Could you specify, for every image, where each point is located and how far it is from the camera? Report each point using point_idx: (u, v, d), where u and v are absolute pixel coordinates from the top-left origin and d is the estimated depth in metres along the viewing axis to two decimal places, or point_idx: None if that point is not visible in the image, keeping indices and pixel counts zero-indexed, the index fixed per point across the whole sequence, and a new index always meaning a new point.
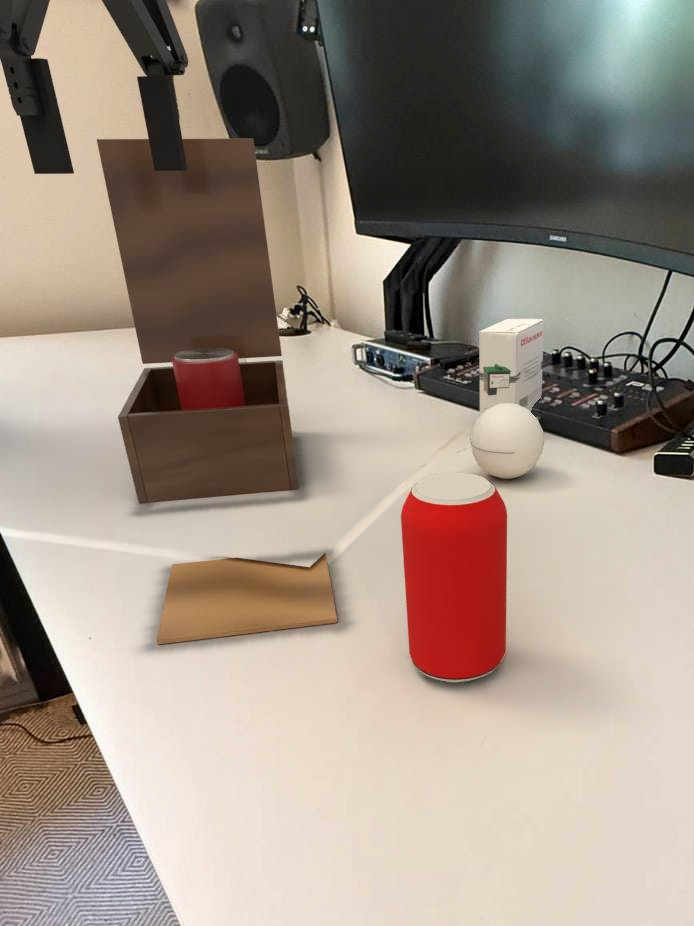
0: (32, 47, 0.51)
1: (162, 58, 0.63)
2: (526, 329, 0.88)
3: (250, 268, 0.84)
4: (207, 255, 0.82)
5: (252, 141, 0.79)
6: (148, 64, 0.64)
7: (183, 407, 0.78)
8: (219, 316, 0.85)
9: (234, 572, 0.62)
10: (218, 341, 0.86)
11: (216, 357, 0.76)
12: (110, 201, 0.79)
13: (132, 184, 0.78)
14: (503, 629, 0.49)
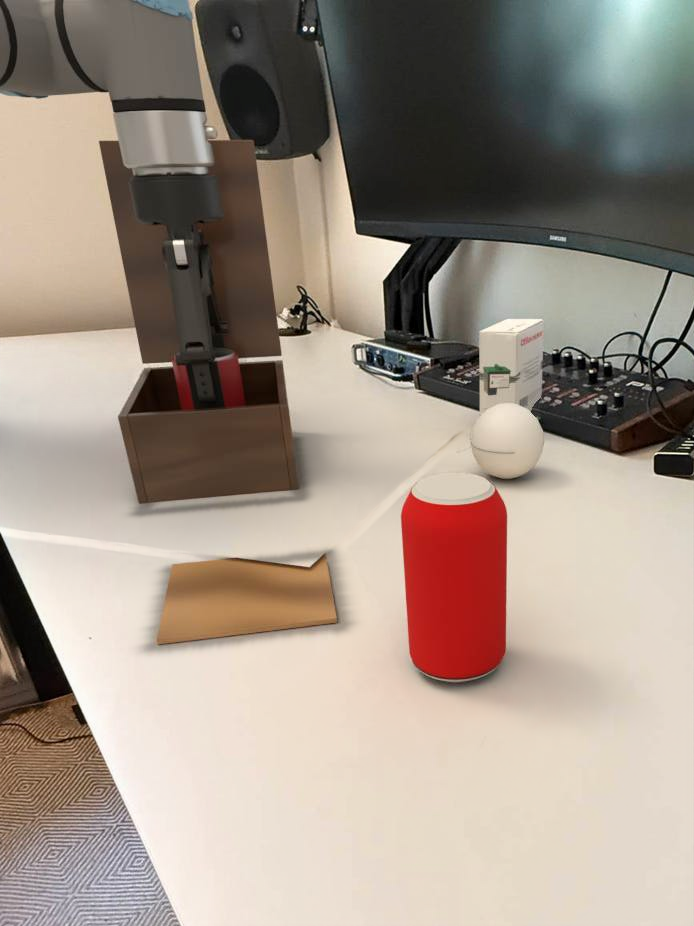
0: None
1: (218, 324, 0.83)
2: (526, 329, 0.88)
3: (250, 268, 0.84)
4: None
5: (252, 142, 0.80)
6: None
7: (183, 407, 0.78)
8: None
9: (234, 572, 0.62)
10: None
11: (216, 357, 0.76)
12: (111, 201, 0.79)
13: None
14: (503, 629, 0.49)
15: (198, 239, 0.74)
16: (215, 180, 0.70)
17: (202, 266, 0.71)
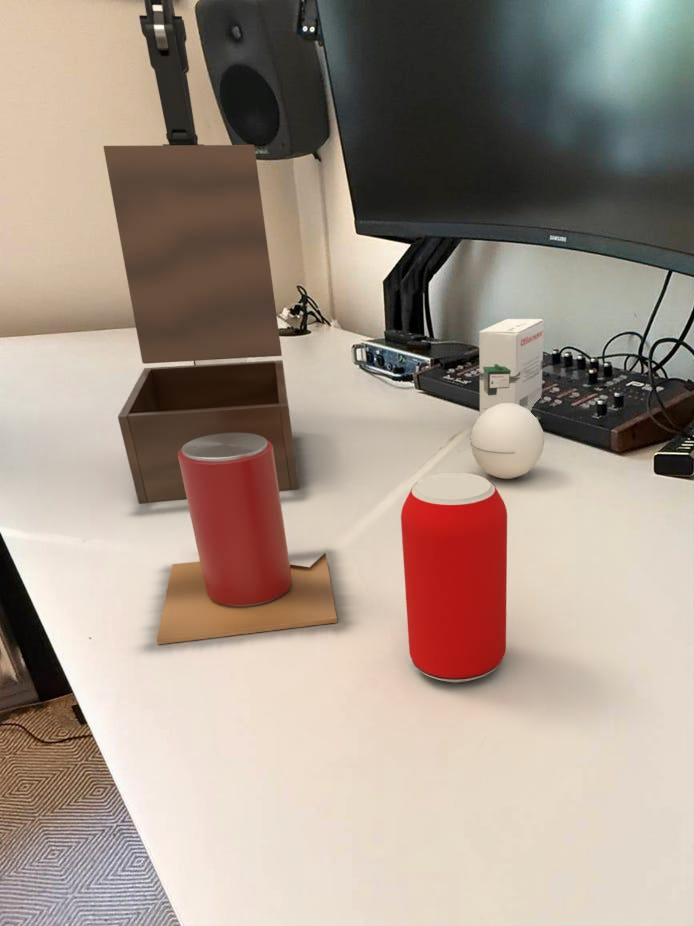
0: (196, 143, 0.83)
1: (193, 133, 0.84)
2: (526, 329, 0.88)
3: (251, 269, 0.85)
4: (208, 256, 0.84)
5: (253, 147, 0.82)
6: None
7: (194, 521, 0.55)
8: (219, 315, 0.86)
9: None
10: (218, 340, 0.86)
11: (243, 453, 0.52)
12: (115, 204, 0.81)
13: (137, 188, 0.81)
14: (503, 629, 0.49)
15: (173, 14, 0.80)
16: None
17: (179, 44, 0.78)
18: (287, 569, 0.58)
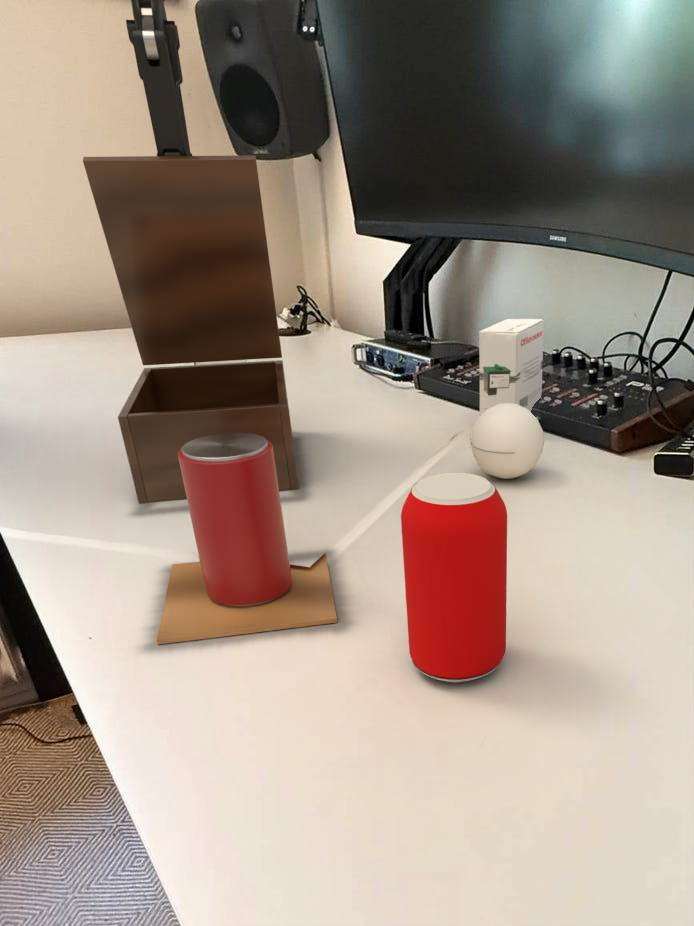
0: None
1: (188, 151, 0.75)
2: (526, 329, 0.88)
3: (251, 283, 0.81)
4: (206, 271, 0.79)
5: (255, 162, 0.72)
6: None
7: (194, 521, 0.55)
8: (219, 325, 0.84)
9: None
10: (218, 346, 0.86)
11: (243, 453, 0.52)
12: (101, 221, 0.73)
13: (125, 205, 0.73)
14: (503, 629, 0.49)
15: (165, 18, 0.70)
16: None
17: (171, 52, 0.69)
18: (287, 569, 0.58)
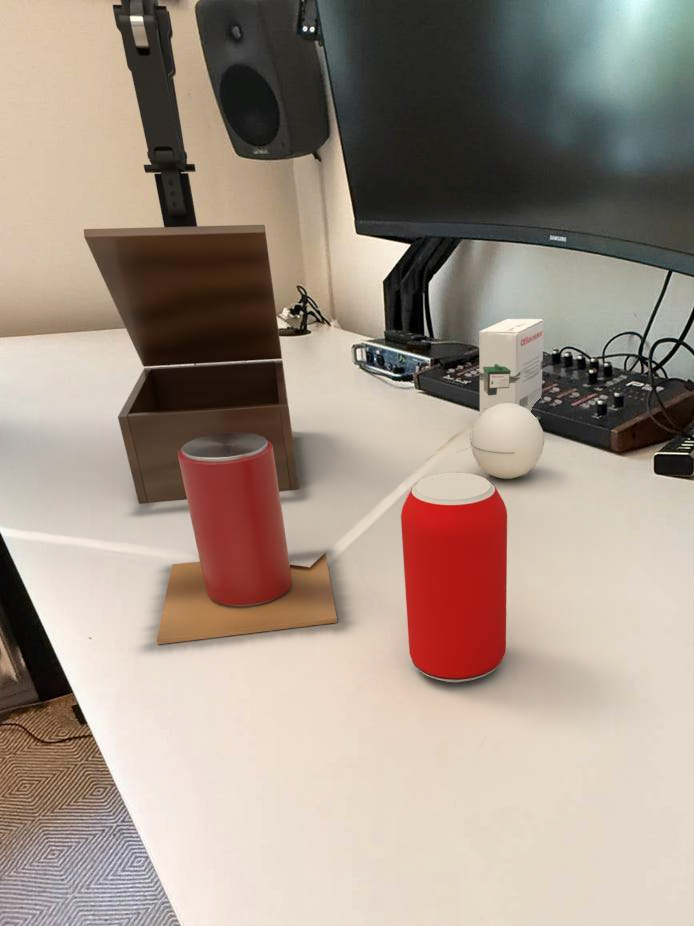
0: (185, 163, 0.68)
1: (181, 150, 0.69)
2: (526, 329, 0.88)
3: (255, 313, 0.80)
4: (210, 306, 0.77)
5: (264, 234, 0.69)
6: None
7: (194, 521, 0.55)
8: (220, 340, 0.83)
9: None
10: (219, 353, 0.85)
11: (243, 453, 0.52)
12: (103, 277, 0.71)
13: (128, 266, 0.70)
14: (503, 629, 0.49)
15: (156, 3, 0.64)
16: None
17: (162, 40, 0.63)
18: (287, 569, 0.58)
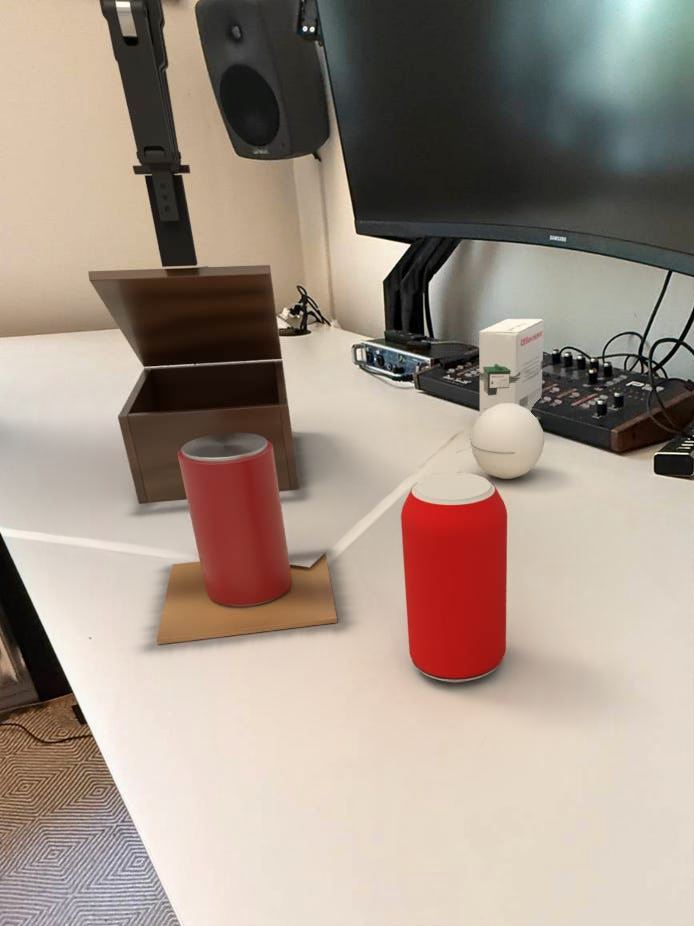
0: (178, 164, 0.62)
1: (175, 149, 0.63)
2: (526, 329, 0.88)
3: (257, 328, 0.79)
4: (212, 325, 0.77)
5: (269, 275, 0.69)
6: None
7: (194, 521, 0.55)
8: (221, 347, 0.83)
9: None
10: (220, 356, 0.85)
11: (243, 453, 0.52)
12: (107, 307, 0.71)
13: (132, 299, 0.70)
14: (503, 629, 0.49)
15: None
16: None
17: (153, 29, 0.57)
18: (287, 569, 0.58)
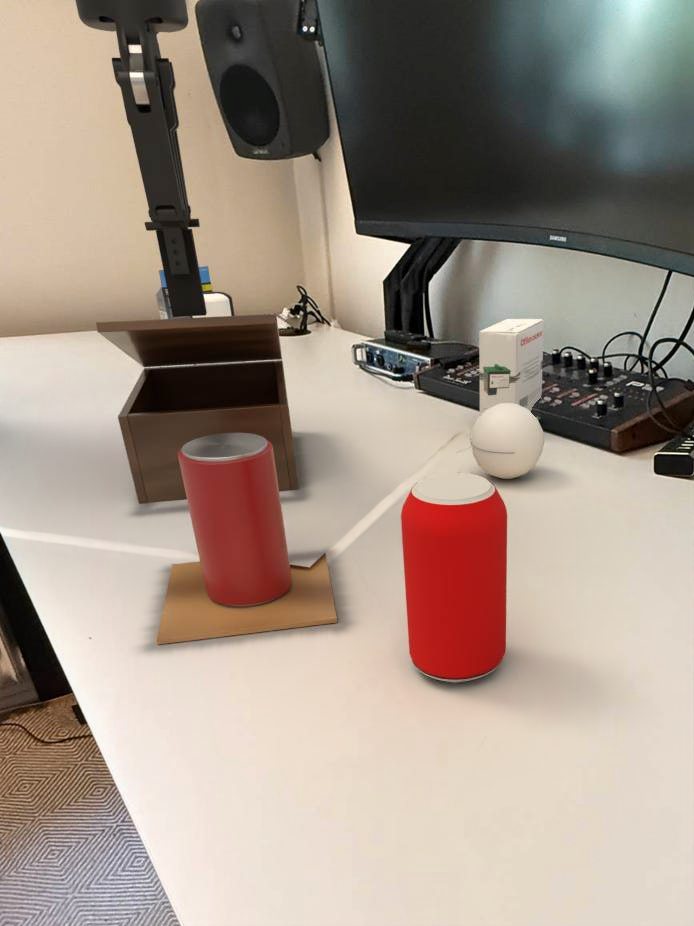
0: (188, 220, 0.64)
1: (185, 205, 0.65)
2: (526, 329, 0.88)
3: (259, 347, 0.80)
4: (215, 347, 0.78)
5: (276, 324, 0.69)
6: None
7: (194, 521, 0.55)
8: (223, 356, 0.83)
9: None
10: (220, 360, 0.86)
11: (243, 453, 0.52)
12: (113, 342, 0.71)
13: (138, 338, 0.70)
14: (503, 629, 0.49)
15: (158, 54, 0.60)
16: None
17: (165, 94, 0.59)
18: (287, 569, 0.58)
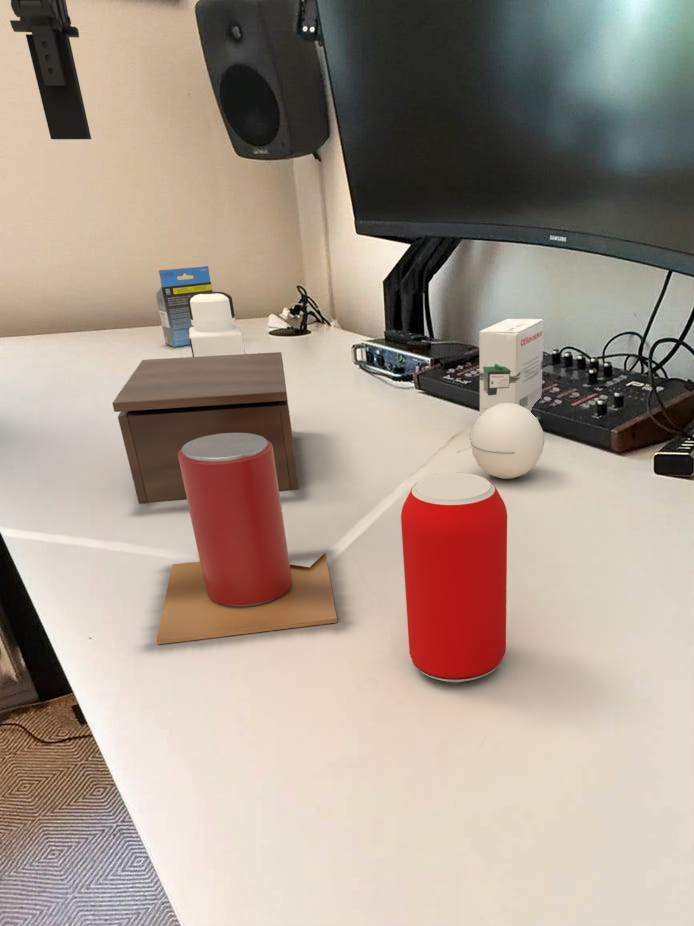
0: (61, 22, 0.58)
1: (59, 9, 0.59)
2: (526, 329, 0.88)
3: None
4: None
5: (286, 399, 0.72)
6: None
7: (194, 521, 0.55)
8: None
9: None
10: None
11: (243, 453, 0.52)
12: None
13: None
14: (503, 629, 0.49)
15: None
16: None
17: None
18: (287, 569, 0.58)
